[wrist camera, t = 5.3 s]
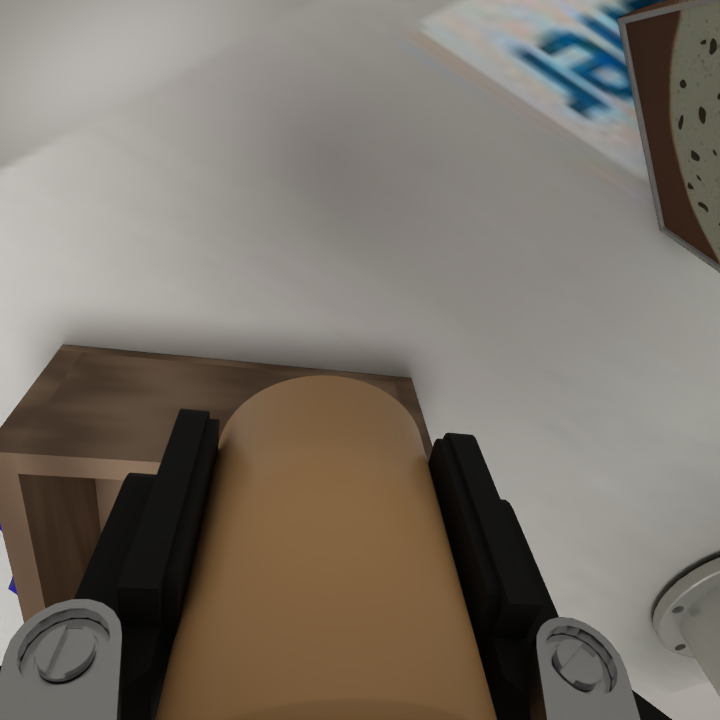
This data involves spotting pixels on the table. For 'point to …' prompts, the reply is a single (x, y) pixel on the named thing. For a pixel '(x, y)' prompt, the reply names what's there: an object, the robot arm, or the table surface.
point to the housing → (112, 447)
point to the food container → (679, 115)
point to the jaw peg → (323, 571)
